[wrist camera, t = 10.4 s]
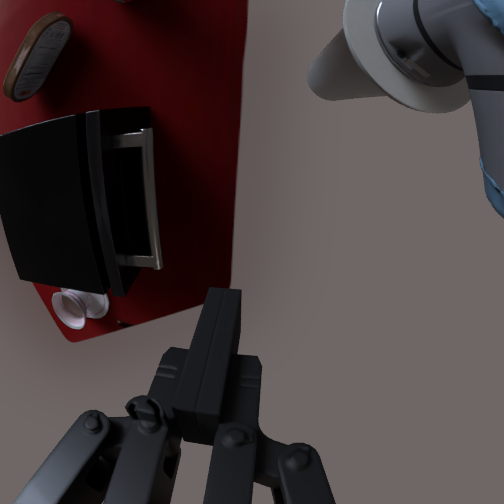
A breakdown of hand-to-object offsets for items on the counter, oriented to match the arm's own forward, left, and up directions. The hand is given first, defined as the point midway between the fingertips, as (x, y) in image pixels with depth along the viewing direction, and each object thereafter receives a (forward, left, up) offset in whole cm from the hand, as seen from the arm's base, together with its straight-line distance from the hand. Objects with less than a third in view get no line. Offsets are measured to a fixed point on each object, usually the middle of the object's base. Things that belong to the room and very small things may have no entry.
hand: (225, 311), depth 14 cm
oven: (+24, 0, -26) cm, 35 cm away
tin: (+32, -21, -26) cm, 46 cm away
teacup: (+32, +22, -26) cm, 47 cm away
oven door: (+13, 0, -26) cm, 29 cm away
